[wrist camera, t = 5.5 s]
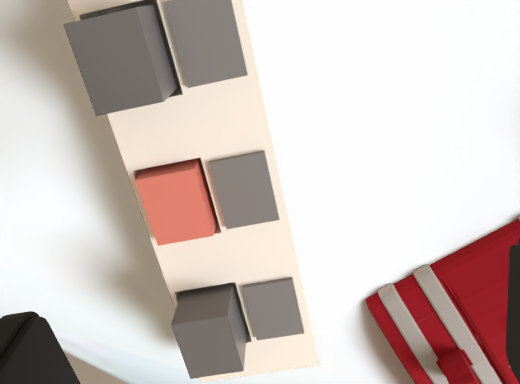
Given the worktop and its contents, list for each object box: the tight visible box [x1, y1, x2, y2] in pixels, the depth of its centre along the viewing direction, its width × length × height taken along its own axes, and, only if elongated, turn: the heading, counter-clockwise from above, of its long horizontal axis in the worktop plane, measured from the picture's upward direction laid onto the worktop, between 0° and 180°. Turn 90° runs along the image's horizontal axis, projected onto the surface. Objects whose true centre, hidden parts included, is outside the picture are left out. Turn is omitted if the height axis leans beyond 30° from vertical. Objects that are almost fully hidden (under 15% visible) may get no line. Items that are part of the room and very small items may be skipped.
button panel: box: [67, 0, 320, 382], centre depth 26 cm, size 32×8×4 cm, turn 12°
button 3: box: [171, 283, 247, 379], centre depth 28 cm, size 4×3×3 cm
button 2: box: [135, 157, 218, 246], centre depth 26 cm, size 4×3×3 cm
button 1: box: [64, 5, 177, 116], centre depth 22 cm, size 4×3×3 cm
